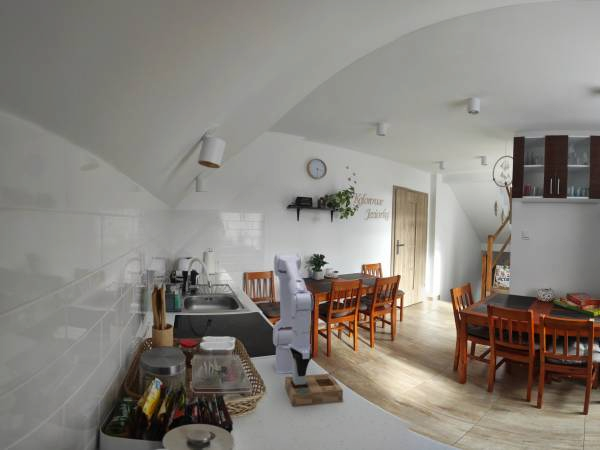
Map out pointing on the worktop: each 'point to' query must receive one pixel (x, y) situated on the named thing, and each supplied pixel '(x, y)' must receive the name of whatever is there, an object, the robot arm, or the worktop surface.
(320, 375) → the port block
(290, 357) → the robot arm
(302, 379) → the matte gray box
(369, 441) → the worktop surface
